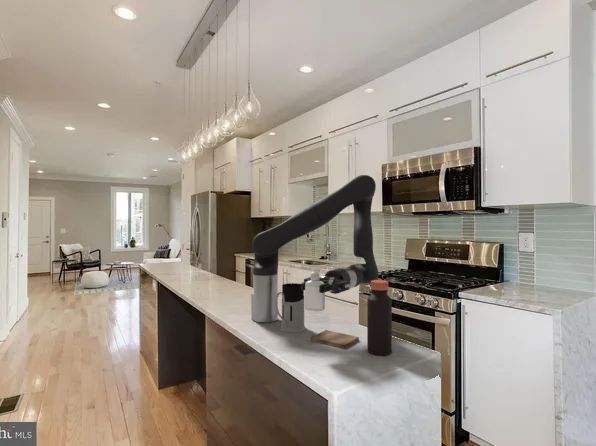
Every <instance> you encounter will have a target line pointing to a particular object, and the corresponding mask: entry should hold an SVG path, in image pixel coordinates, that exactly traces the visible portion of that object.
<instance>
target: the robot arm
mask: <svg viewBox="0 0 596 446" xmlns="http://www.w3.org/2000/svg"><path fill="white" fill-rule="evenodd" d="M376 185H377V184H376V181H375V179H374V178H373V177H372V176H370V175H369V174H361V175H358V176H356V177H354V178H352V179H351V180H349V182H347V183H345V185H343V186H342V187H340V188H338V189H337V190H336V191H334V192H332V193H329V194H327V195H325V196H324V197H322V198H320V199H318V200H317V201H315V202H312V203H311V204H309V205H307V206H305V207H304V208H301V209H300V210H299V211H298V212H296V213H294V214H293V215H291V216H290V217H289V218H287V219H286V220H285V221H283V222H282V223H280V224H278V225H276V226H274V227H272V228H269V229H267V230H265V231H261V232H259V233H257V234H256V235H255V236H254V238H253V239H252V242H251V246H252V251H253V252H254V262H253V269H252V271H253V276H252V277H253V281H252V282H253V283H252V285H253V288H252V289H253V293H251V294H250V295H251V298H250V299H251V301H250V303H251V304H250V305H251V306H250V307H251V308H250V309H251V310H250V311H251V313H250V314H251V315H250V316H251V320H253V321H254V322H256V323H272V322H276V321H278V318H279V316H278V314H277V311H276V306H275V298H276V295H277V294H278V293H279V290H278V289H279V284H278V283H279V280H278V279H279V276H278V275H279V273H278V272H279V271H278V270H279V249H281V248H282V247H284V246H285V245H286V244H288V243H290V242H292V241H294V240H296V239H298V238H300V237H303V236H306V235H307V234H310V233H312V232H314V231H316V230H317V229H320V228H321V227H323V226H325V225H326V224H328V223H329V222H331V221H332V220H333V219H334V218H335V217H337V216H338V215H339V214H340V213H341V212H342V211H343V210H345V209H346V208H347V207H349V206H352V205H353V215H354V217H353V221H354V222H353V241H352V242H353V251H352V252H353V255H354V256H355V257H356V258H360V259H363V260H364V262H365V263H355V264H350V265H349V266H346V267H344V266H343V267H338V268H335V269H330V270H328V271H327V272H326V273H325V274H324V275H322V276H319V281H322V282H323V283H324V284H322V285H320V286H319V292H320V293H324V292H325V293H328V292H329V293H330V294H333V295H334V294H335V295H337V294H338V295H339V294H340V293H343V292H346V291H349V290H351V289H353V288H355V287H359V285H363V284H368V285H369V284H370V285H371V281H372V280H379V268H378V265H377V262H376V259H375V256H374V255H375V254H374V239H373V238H374V236H373V227H372V226H373V224H372V205H373V199H374V196H375V193H376V190H377V189H376ZM310 280H311V276H309V277H307V278H303V281H302V282H301V283H300V284H301V290H304V291H305V283H306V282H308V281H310ZM278 298H279V297H278ZM278 298H277V306H278V305H279V304H278V303H279V301H278Z"/></svg>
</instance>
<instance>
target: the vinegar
mask: <svg viewBox="0 0 596 446" xmlns="http://www.w3.org/2000/svg"><path fill="white" fill-rule="evenodd" d="M370 291H371V294H370V295H369V296H368V297H367V302H366V304H367V307H366V308H367V309H366V310H367V311H366V312H367V314H366V315H367V318H366V319H367V321H366V323H367V325H366V326H367V327H366V328H367V331H366V332H367V333H366V334H367V336H366V338H367V341H366V342H367V345H366V346H367V347H366V348H367V349H366V350H367V352H368V353H369V354H371V355H374V356H380V357H383V356H384V357H386V356H390V355H391V354H393V353H392V352H393V348H392V347H393V346H392V345H393V343H392V342H393V338H392V337H393V335H392V333H393V329H392V328H393V326H392V325H393V324H392V323H393V318H392V317H393V316H392V315H393V312H392V311H393V310H392V309H393V308H392V306H393V303H392V302H393V299H392V298H391V296H389V295H388V292H389V281H388V280H384V279H377V280H372V281H371V284H370Z"/></svg>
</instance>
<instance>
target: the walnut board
mask: <svg viewBox="0 0 596 446" xmlns="http://www.w3.org/2000/svg"><path fill="white" fill-rule="evenodd" d="M359 340H360V337H359V336H354V335H351V334H346V333H342V332H337V331H333V330H328V329H325V330H324V331H321V332H319V333H317V334H315V335H313V336H310V341H311V342H315V343H321V344H323V345H324V344H325V345H328V346H332V347H337V348H341V349H347V348H349V347H350V346H352V345H354V344H355V343H357V342H358V341H359Z"/></svg>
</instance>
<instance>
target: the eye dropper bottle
mask: <svg viewBox="0 0 596 446" xmlns="http://www.w3.org/2000/svg"><path fill="white" fill-rule="evenodd" d="M310 277H311V280H310V281H308V282H306V283H305V290H304V310H307V311H311V312H323V311H324V310H325V309H326V292H324V293H320V292H319V286H320V285H322V284H324V283H323V282H322V281H319V277H320V272H319V271H317V268H316V267H313V270H312V272H310Z"/></svg>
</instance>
